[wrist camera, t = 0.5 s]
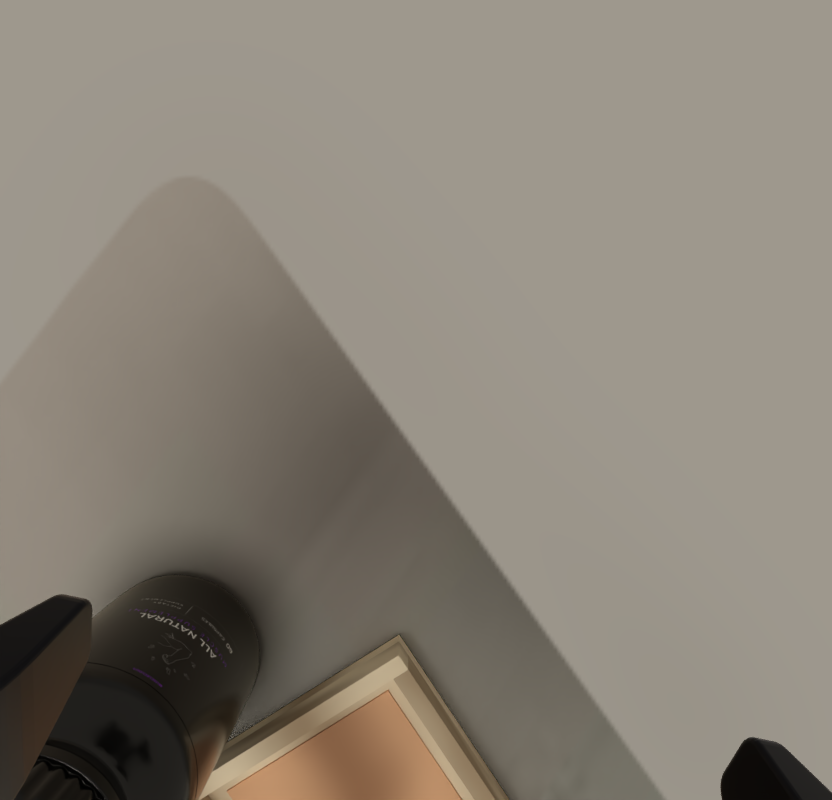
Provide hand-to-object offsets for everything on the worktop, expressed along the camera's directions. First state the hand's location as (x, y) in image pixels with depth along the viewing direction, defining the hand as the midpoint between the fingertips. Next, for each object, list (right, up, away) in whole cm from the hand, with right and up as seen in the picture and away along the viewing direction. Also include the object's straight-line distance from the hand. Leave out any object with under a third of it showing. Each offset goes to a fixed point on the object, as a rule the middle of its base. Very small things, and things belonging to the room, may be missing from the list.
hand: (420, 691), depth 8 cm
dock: (-2, -14, +18) cm, 23 cm away
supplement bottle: (-10, -6, +18) cm, 22 cm away
